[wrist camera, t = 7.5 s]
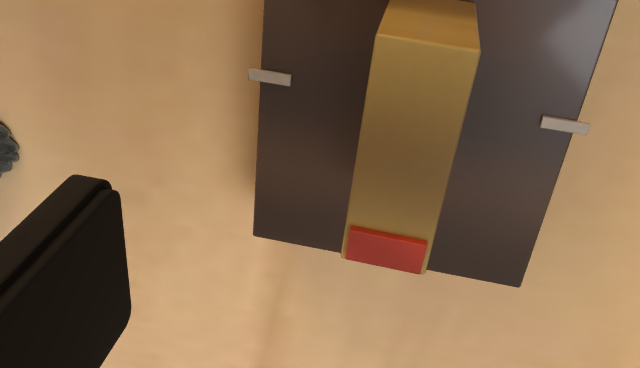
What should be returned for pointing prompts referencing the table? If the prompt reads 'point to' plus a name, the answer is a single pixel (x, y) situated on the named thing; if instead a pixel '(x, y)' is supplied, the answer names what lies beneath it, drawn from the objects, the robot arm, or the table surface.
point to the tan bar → (410, 130)
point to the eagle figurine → (7, 150)
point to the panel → (474, 142)
